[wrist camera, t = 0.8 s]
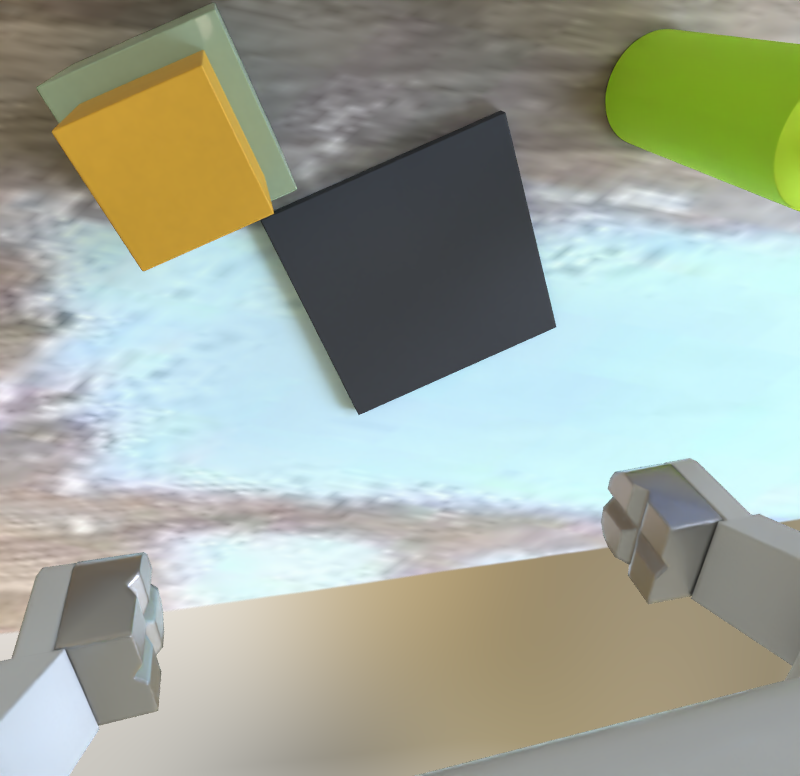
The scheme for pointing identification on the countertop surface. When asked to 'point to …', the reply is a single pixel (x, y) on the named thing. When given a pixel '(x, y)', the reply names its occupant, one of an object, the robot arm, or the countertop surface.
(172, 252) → the top cube
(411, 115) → the countertop surface
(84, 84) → the base block
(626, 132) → the soap dispenser
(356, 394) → the mat
